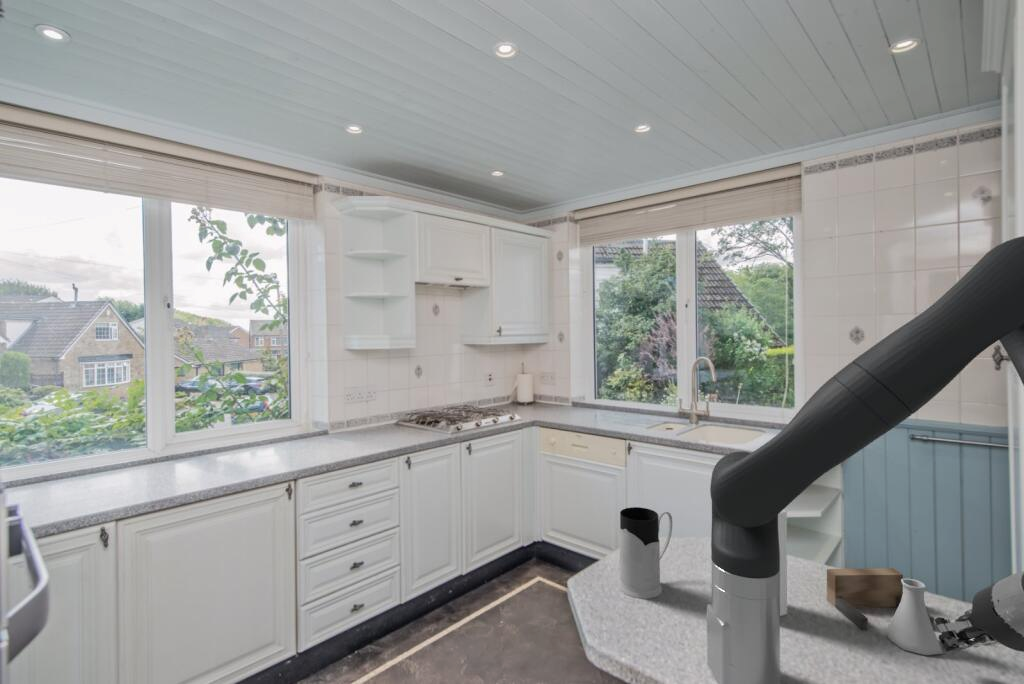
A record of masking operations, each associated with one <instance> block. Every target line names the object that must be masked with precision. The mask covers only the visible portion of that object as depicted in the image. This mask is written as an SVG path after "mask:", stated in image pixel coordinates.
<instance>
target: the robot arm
mask: <svg viewBox="0 0 1024 684" xmlns="http://www.w3.org/2000/svg"><path fill="white" fill-rule="evenodd" d="M961 277H962V278H960V279H959V280H957V282H956V283H955V284H954V285H953V286H952V287H950V288H949V290H947V291H946V292H945V293H944V294H943V295H942V296H941V297H940V298H938V299H937V300H936V301H935V302H934V303H933V304H932V305H930V306H929V307H928V308H926V310H924V311H923V312H921V313H920V314H918V315H917V316H916V317H914V318H913V319H911V320H910V321H908V322H906V323H905V324H904V325H901V327H899V328H897V329H896V330H894V331H893V332H891V333H890V334H889V335H887V336H886V337H884V338H882V339H881V340H880V341H879V342H877V343H875V344H874V345H873V346H871V347H870V348H868V349H867V350H866V351H864V352H863V353H862V354H860V355H858V356H857V357H856V358H854V360H853V359H852V361H851V362H849V363H848V364H847V365H846V366H844V367H842V369H841V370H839V371H838V372H836V373H835V374H834V375H833V376H832V377H830V378H829V379H828V380H827V381H825V382H824V384H822V385H821V386H820V387H818V389H817V390H816V391H815V392H814V393H813V394H812V395H811V396H810V398H809V399H807V401H806V402H805V403H804V405H803V406H802V407H801V408H800V409H799V411H798V412H797V413H796V414H795V416H794V417H793V418H792V419H791V420H790V421H789V423H788V424H787V425H786V426H785V427H784V428H783V429H782V430H781V431H780V432H779V433H777V434H776V435H775V436H774V437H772V438H771V439H770V440H768V441H767V442H766V443H764V444H763V445H761V446H760V447H758V448H756V449H755V450H754V451H752V452H749V451H734V452H730V453H728V454H726V455H724V456H722V457H721V458H720V459H719V460H718V461H717V463H715V466H713V470H712V473H711V480H710V488H709V490H710V493H709V494H710V498H711V499H710V500H711V541H710V542H711V543H710V546H711V549H710V550H711V551H710V552H711V603H708V604H706V646H707V648H706V652H707V653H706V654H707V655H706V657H707V659H706V661H707V662H706V664H707V666H708V668H709V669H710V671H711V673H712V674H713V677H714V679H715V681H716V682H717V683H718V684H781V674H782V673H781V616H780V550H779V535H778V514H779V513H780V512H781V511H782V510H783V509H784V510H785V508H787V507H788V505H790V504H791V503H792V502H794V500H796V499H797V498H798V497H799V496H800V495H801V494H802V493H803V492H805V490H806V489H808V487H810V486H811V485H812V484H813V483H814V482H816V481H817V480H818V479H819V478H821V477H822V476H823V475H825V474H826V473H827V472H829V471H831V470H833V468H835V467H837V466H838V465H841V463H844V462H845V461H846V460H849V459H850V458H851V457H853V456H854V455H856V454H857V453H858V452H859V451H862V450H863V449H864V448H866V447H867V446H868V445H870V444H872V443H873V442H874V441H876V440H878V439H879V438H881V437H882V436H883V435H886V434H887V433H888V432H890V431H891V430H893V429H894V428H896V426H898V425H900V424H901V423H902V422H904V421H905V420H907V419H908V418H910V417H911V416H912V415H914V414H915V413H917V412H918V411H919V410H920V409H921V408H923V406H925V405H926V404H928V403H929V402H930V401H931V400H932V399H933V398H934V397H936V396H937V395H938V394H940V392H942V390H943V389H944V388H945V387H947V386H948V385H949V384H950V383H951V382H952V381H953V380H954V379H955V378H956V377H957V376H958V375H959V374H960V373H961V372H962V371H963V370H964V369H965V368H966V367H967V366H968V365H969V364H970V363H971V362H972V361H973V360H975V358H976V357H978V356H979V355H980V354H981V353H983V352H984V351H986V350H987V348H989V347H991V346H993V344H995V343H996V342H1000V343H1001V346H1002V347H1003V348H1004V350H1005V352H1006V354H1007V356H1008V357H1009V360H1010V361H1011V363H1012V365H1013V367H1014V369H1015V371H1016V372H1017V375H1018V377H1019V378H1020V381H1021V383H1022V386H1024V235H1022V236H1018V237H1014V238H1012V239H1009V240H1007V241H1004V242H1001V243H999V244H998V245H996V246H995V247H993V248H991V249H990V250H989V251H988V252H987V253H985V255H983V256H982V257H981V259H979V260H978V262H977V263H976V264H974V266H973V267H972V268H970V269H969V270H968V272H966V273H965V275H963V276H961ZM934 623H936V627H937V628H938V630H939V632H940V633H941V634H939V635H938V641H939V643H940V644H941V647H942V648H943V649H944V650H945V652H947V653H952V652H953V653H955V652H956V653H959V652H961V651H964V650H965V649H969V648H975V649H976V648H980V647H981V646H984V647H995V646H999V645H1003V646H1005V647H1006V648H1009V649H1011V650H1013V651H1017V652H1021V653H1022V652H1024V571H1019V572H1016V573H1013V574H1011V575H1009V576H1007V577H1005V578H1003V579H1001V580H998V581H996V582H995V583H993V584H991V585H989V586H987V587H985V588H983V589H980V590H978V592H976V593H975V594H974V596H973V599H972V604H971V609H968V610H966V611H965V612H964V614H963V615H960V616H958V618H956V619H954V622H951V620H950V619H948V618H947V619H946V618H945V617H940V616H939V617H936V618H934Z"/></svg>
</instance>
